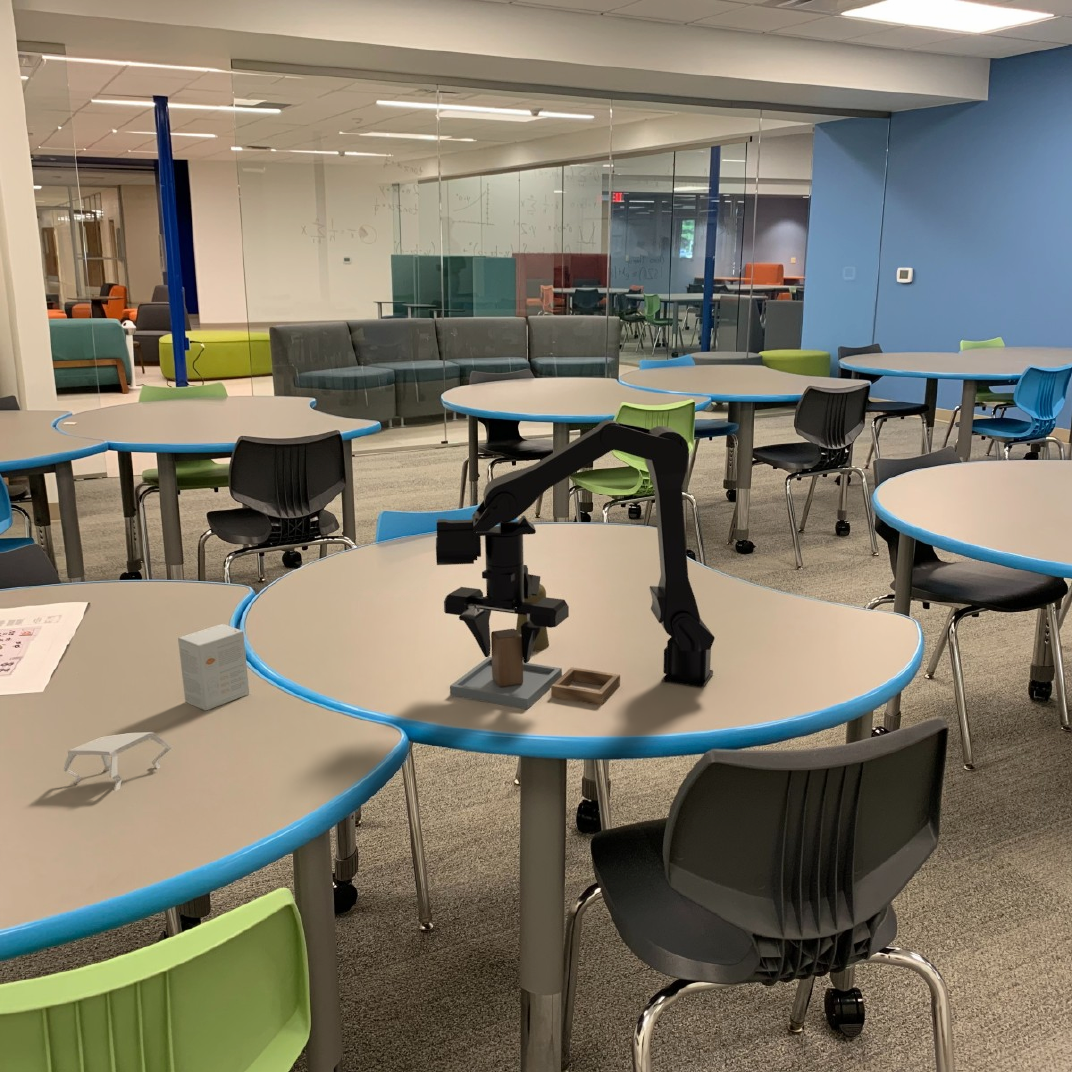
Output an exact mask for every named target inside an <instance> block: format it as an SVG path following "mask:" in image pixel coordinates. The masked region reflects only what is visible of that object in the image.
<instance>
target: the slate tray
mask: <svg viewBox="0 0 1072 1072" xmlns="http://www.w3.org/2000/svg"><path fill="white" fill-rule="evenodd" d="M561 676H563V668H562V667H555V666H549V665H543V664H537V663H531V662H530V663H529V662H527V663H524V661H523V683H522V684H518V685H512V686H505V687H499V686H498V684H497V683H496V682H495V681H494V680H493V678H492V656H488V657H485V658H484V659H483V660H482V661H481V662H479V664H477V665H476V666H474V667H473V668H472V669H470V670H469V671H468V672H467V673H465V674H464V675H462V676H461V677H459V679H457V680H456V681H454V682H453V683H452V684H450V685H449V695H450V697H456V698H463V699H467V700H472V701H478V702H479V701H480V702H485V703H491V704H496V705H501V706H507V707H511V708H512V707H514V708H519V709H524V710H528V709H530V708H531V707H532V706H533V705H534V704H535V703H536V702H538V700H540V698H542V697H543V696H544V695H545V694H546V693H547V692H548V691H549V690H551V686H552V685H553V684H554V683H555V682H556V681H557V680H558V679H559V678H560V677H561Z"/></svg>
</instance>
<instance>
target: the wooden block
mask: <svg viewBox="0 0 1072 1072" xmlns="http://www.w3.org/2000/svg"><path fill="white" fill-rule="evenodd" d="M490 644H491V657H492V678H493V680H494V681H495V682H496V683H497V684H498V686H499V687H505V686H512V685H518V684H522V683H523V662H524V660H523V655H522V639H521V634H520V633H519V632H517V631H516V628H508V629H506V628H505V629H500V630H493V631H491V632H490Z"/></svg>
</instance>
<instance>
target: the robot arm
mask: <svg viewBox="0 0 1072 1072" xmlns="http://www.w3.org/2000/svg"><path fill="white" fill-rule="evenodd" d="M612 451H616V452H617V451H618V452H621V453H625V454H628V455H631V456H634V457H638V458H641V459H644V461H645V465H646V468H647V471H648V474H649V477H650V480H651V483H652V486H653V491H654V502H655V514H656V515H655V516H656V528H657V530H656V531H657V541H658V542H657V543H658V554H659V567H660V577H659V581H658V585H657V586H654V585H650V586H649V591H650V596H651V607H650V611H651V612H652V614H653V615H654V617H655V619H656V620H657V622H658V624H661V626H662V627H663V629H664V631H665V632H666V634H667V635H668V636H670V638H669V639H668V640H667V641H666V642H667V643H666V647H665V648H664V649H663V674H664V676H663V678H662V681H663V682H666V683H671V684H672V683H673V684H678V685H686V686H691V687H698V688H704V687H705V686H706V684H707V683H708V682H709V679H710V678H712V676H713V674H714V670H713V669H711V659H712V657H711V656H712V655H711V654H712V647H713V644H714V641H715V636H714V634H713V633H712V632H711V630H710V629H709V627H708V626H707V625H706V624H705V622H704V621H703V620H702V619H701V615H700V612H699V608H698V603H697V599H696V597H695V594H694V592H693V588H692V585H691V582H690V579H689V570H688V569H689V568H688V556H687V555H688V553H687V544H686V543H687V542H686V540H687V539H686V528H685V527H686V526H685V513H684V510H685V509H684V498H683V489H684V488H683V487H684V484H685V481H686V476H687V472H688V463H689V453H690V449H689V444H688V441H687V439H685V437H684V436H682V435H681V434H680V433H678V432H677V431H676V430H674V429H672V428H671V427H669V426H666V425H658V426H655V427H652V428H647V427H642V426H639V425H634V424H633V425H631V424H627V423H621V422H617V421H616V420H613V419H605V420H603V421H600V422H599V423H598V424H597V425H596V426H595V427H594V428H592V429H591V430H589V431H587V432H585V433H584V434H582V435H580V436H579V437H577V438H575V439H574V440H572V441H570V442H569V443H567V444H565V445H563V446H562V447H561V448H559V449H557V450H556V451H554V452H552V453H551V454H549V455H547V456H546V457H543V459H540V460H538V461H537V462H536V463H534V464H531V465H529V466H527V467H525V468H523V467H522V468H520V469H517V470H516V469H515V470H512V471H510V472H508V473H505V474H502V475H500V476H497V477H495V478H492V479H491V480H489V482H487V483H486V485H485V487H484V489H483V493H482V495H483V500H482V501H481V502H480V504H479V506H478V507H476V509H475V511H474V512H473V514H472V515H471V519H446V518H438V519H437V520H436V537H435V554H436V555H435V558H436V566H443V565H444V566H448V565H449V566H450V565H451V566H453V565H475V561H478V558H481V557H482V542H481V541H482V540H481V539H482V538H481V537H484V543H485V544H484V547H485V548H484V549H485V553H484V554H485V556H484V557H485V569H484V570H482V571H481V579H484V580H485V583H486V584H485V585H486V587H485V588H486V590H485V591H486V596H484V592H483V591H482V590H481V589H480V588H475V587H473V588H472V587H465V586H460V587H459V588H457V589H455V590H453V591H452V592H450V593H448V594H447V595H446V596H445V597H444V600H443V612H444V613H445V614H448V615H455V616H458V620H459V621H461V622H462V621H463V622H464V624H465V625H466V627H467V628H468V629H469V631H470V632H471V634H472V636H473V637H474V638H475V641H476V643H477V645H478V646H479V648H480V650H481V653H482V654H483V656H484V657H485V658H488V657H491V650H492V647H491V630H490V619H491V613H492V611H493V612H500V613H506V614H507V613H508V614H514V615H518V614H521V615H527V622H525V623H524V624H523V625H521V639H522V655H523V662H524V663H529V662H530V659H531V657H532V655H533V652H534V651H533V648H534V645H535V642H536V639H537V637H538V635H539V633H540V631H541V629H542V628H543V627H547V628H549V629H553V628H556V627H558V625H560V624H561V623H562V622H564V621H566V619H568V618H569V616H570V614H569V613H570V612H569V611H570V609H569V605H568V603H567V602H566V600H565V599H562V598H555V597H547V596H546V597H543V598H542V599H541V600H539V601H538V602H536V603H528V602H524V599H529V598H530V597H531V595H534V596H538V593H539V585H540V584H541V575H534V574H530V573H529V568H528V565H527V564H524V535H536V533H537V530H536V527H535V525H534V524H533V523H532V522H530V521H529V520H528V519H527V517H526V515H522V514H524V513H525V512H526V511H527V510H528V509H530V507H532V506H533V505H534V504H535V502H536V501H538V499H539V498H540V497H541V496H542V495H543V494H544V493H545V492H546V491H547V490H548V489H550V488H552V487H554V486H555V485H557V484H559V483H560V482H562V481H564V480H565V479H567V478H569V477H570V476H572V475H573V474H575V473H577V472H578V471H580V470H582V469H584V468H586V466H587V467H588V465H590V464H591V463H593V462H595V461H597V460H598V459H600V458H602V457H603V456H605V455H607V454H608V453H610V452H612ZM520 516H521V517H520ZM519 517H520V518H519ZM517 518H519V519H518V520H516V519H517ZM497 525H498V526H497Z"/></svg>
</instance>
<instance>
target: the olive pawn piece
mask: <svg viewBox="0 0 1072 1072" xmlns="http://www.w3.org/2000/svg"><path fill="white" fill-rule="evenodd" d="M543 597H547V591H546V588H545V586H544V585H543V584H541V583H540V585H539V593H538V596H534V595H531V597H530V598H529V599H524V602H528V603H536V602H538V601H539V600H541V599H542V598H543ZM525 622H527V615H521V614H517V619H516V627H515V630H516V631H517V632H519V633H520V634H521V625H523V624H524V623H525ZM549 646H550V643H549V634H548V627H543V628H542V629H541V631H540V633H539V635H538V637H537V639H536V642H535V645H534V648H533V651H532V652H539V651H543V650H546V649H548V648H549Z"/></svg>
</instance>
